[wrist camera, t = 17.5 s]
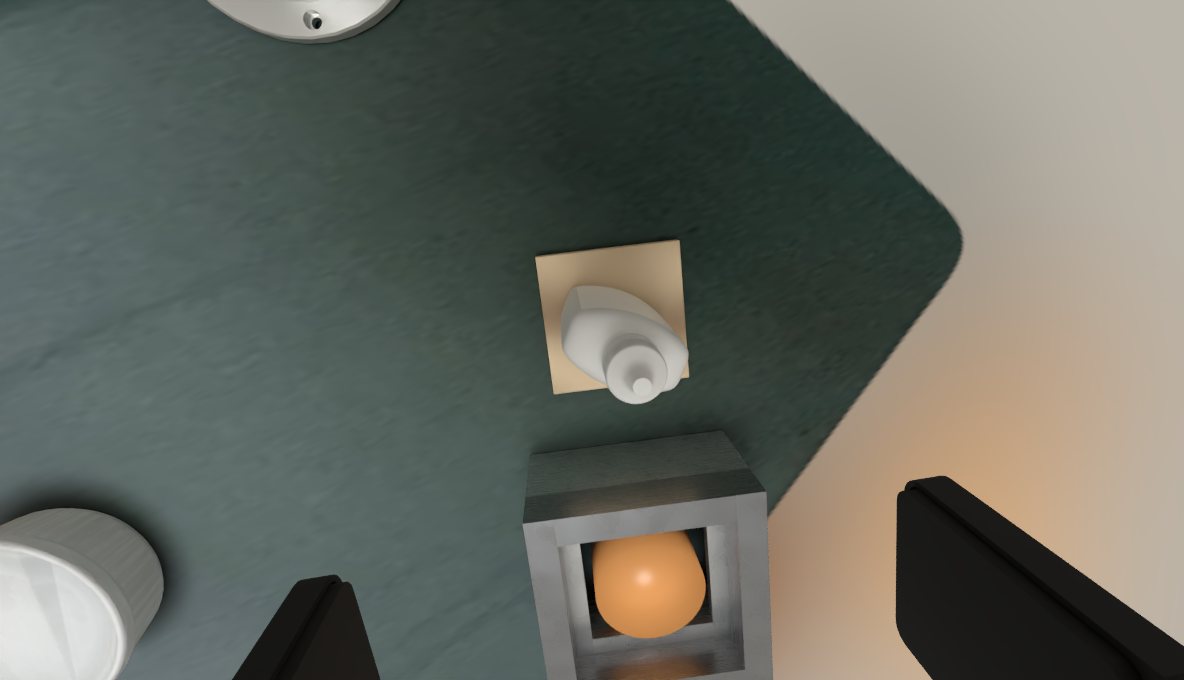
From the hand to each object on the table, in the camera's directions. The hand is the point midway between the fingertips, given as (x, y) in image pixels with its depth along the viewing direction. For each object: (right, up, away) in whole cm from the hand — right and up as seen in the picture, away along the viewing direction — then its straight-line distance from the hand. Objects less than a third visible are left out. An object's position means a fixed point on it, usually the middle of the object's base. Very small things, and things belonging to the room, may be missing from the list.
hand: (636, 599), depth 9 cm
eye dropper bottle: (0, +6, +22) cm, 23 cm away
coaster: (+1, +6, +23) cm, 24 cm away
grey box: (+2, -8, +26) cm, 28 cm away
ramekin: (-32, -10, +25) cm, 42 cm away
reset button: (+2, -8, +26) cm, 27 cm away
